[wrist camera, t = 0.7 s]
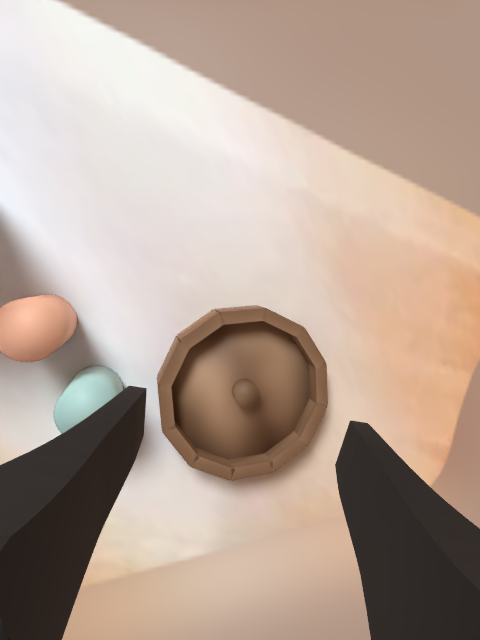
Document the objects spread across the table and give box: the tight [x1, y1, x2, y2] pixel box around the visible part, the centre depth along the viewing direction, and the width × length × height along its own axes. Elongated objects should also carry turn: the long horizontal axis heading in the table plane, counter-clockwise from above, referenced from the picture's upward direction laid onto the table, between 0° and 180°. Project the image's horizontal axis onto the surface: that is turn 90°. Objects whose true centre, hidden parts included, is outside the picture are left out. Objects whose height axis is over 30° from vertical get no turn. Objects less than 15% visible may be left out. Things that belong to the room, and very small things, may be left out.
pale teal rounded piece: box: [54, 366, 123, 434], centre depth 26 cm, size 4×4×5 cm
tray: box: [157, 306, 328, 480], centre depth 30 cm, size 14×14×2 cm
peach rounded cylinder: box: [0, 294, 77, 362], centre depth 25 cm, size 4×4×5 cm
